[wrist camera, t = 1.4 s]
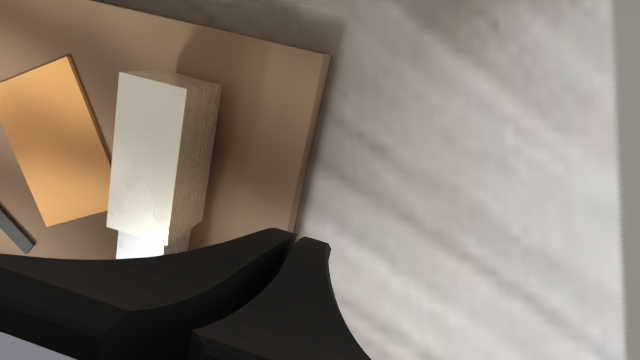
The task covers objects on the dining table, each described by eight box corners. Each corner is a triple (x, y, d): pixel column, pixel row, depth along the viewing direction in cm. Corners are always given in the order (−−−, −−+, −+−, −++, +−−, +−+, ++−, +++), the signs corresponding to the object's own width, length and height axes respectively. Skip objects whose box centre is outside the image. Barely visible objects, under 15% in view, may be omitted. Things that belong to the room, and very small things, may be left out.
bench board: (251, 425, 25) (239, 450, 23) (-107, 294, 29) (-138, 308, 27) (331, 55, 19) (323, 54, 18) (-131, -52, 23) (-173, -61, 21)
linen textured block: (179, 431, 23) (139, 492, 20) (117, 408, 24) (68, 463, 21) (233, 87, 18) (191, 93, 15) (152, 67, 19) (95, 68, 15)
